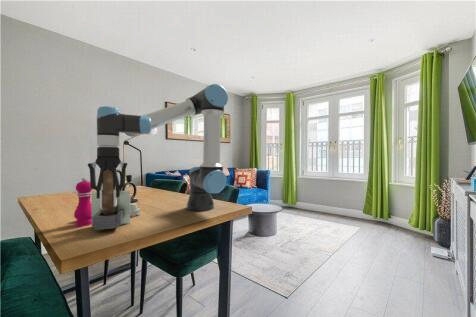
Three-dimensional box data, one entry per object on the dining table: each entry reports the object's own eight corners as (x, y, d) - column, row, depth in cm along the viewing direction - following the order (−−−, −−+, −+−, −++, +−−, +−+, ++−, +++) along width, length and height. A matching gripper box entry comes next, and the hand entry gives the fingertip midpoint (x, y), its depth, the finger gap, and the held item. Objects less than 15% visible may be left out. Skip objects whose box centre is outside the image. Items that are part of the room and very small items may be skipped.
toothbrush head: (78, 212, 97) (138, 199, 107) (80, 226, 97) (140, 212, 108) (75, 214, 92) (138, 201, 102) (78, 229, 92) (140, 215, 103)
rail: (115, 214, 86) (115, 170, 86) (113, 216, 83) (113, 170, 82) (103, 215, 85) (103, 170, 85) (101, 217, 81) (101, 170, 81)
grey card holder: (130, 222, 93) (130, 190, 93) (127, 231, 82) (127, 195, 82) (92, 226, 88) (92, 192, 88) (84, 236, 77) (83, 197, 77)
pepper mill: (71, 227, 86) (71, 178, 86) (77, 222, 93) (76, 177, 93) (92, 225, 89) (92, 177, 89) (96, 220, 96) (96, 176, 95)
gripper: (133, 147, 90) (133, 202, 90) (85, 146, 84) (85, 205, 84) (131, 146, 83) (131, 206, 83) (79, 145, 77) (79, 210, 77)
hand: (108, 206), depth 84 cm, fingers closed on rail, 4 cm apart
